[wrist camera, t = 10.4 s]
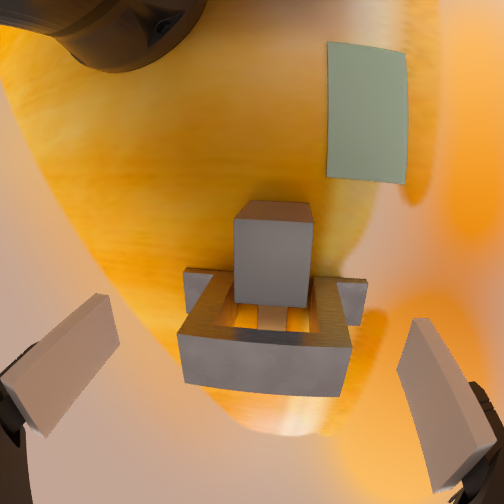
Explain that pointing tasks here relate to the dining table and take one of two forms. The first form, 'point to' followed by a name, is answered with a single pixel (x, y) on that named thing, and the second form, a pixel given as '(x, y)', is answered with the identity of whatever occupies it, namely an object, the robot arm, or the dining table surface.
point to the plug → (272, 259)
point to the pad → (367, 113)
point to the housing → (268, 339)
